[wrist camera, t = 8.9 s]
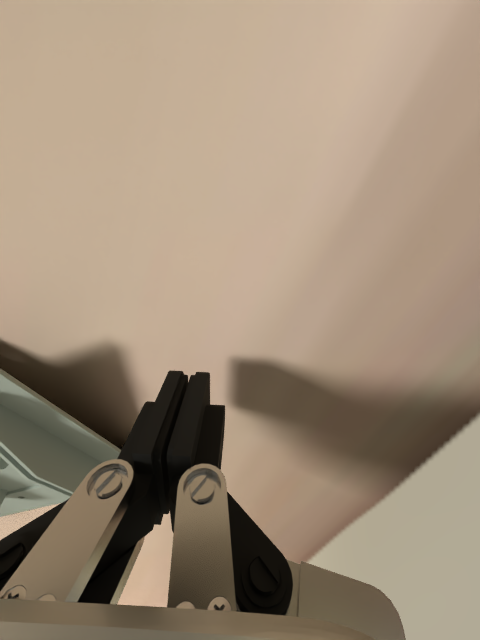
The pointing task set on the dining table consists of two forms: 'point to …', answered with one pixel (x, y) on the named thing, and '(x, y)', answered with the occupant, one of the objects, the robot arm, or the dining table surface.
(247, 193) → the dining table surface
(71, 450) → the metal bracket
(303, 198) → the dining table surface
